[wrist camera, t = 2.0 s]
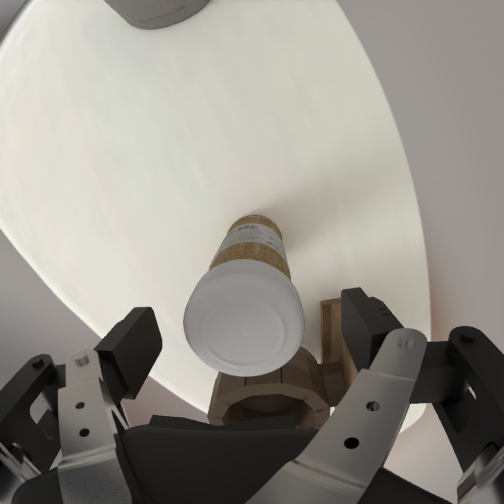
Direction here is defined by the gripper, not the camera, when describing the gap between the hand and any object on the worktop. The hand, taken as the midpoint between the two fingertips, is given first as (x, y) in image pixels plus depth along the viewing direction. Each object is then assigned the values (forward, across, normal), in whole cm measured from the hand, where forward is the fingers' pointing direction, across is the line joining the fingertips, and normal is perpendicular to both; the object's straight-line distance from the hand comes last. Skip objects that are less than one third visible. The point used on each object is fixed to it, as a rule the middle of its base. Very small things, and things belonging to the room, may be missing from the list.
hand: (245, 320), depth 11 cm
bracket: (+12, -2, +10) cm, 16 cm away
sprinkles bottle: (+12, 0, 0) cm, 12 cm away
